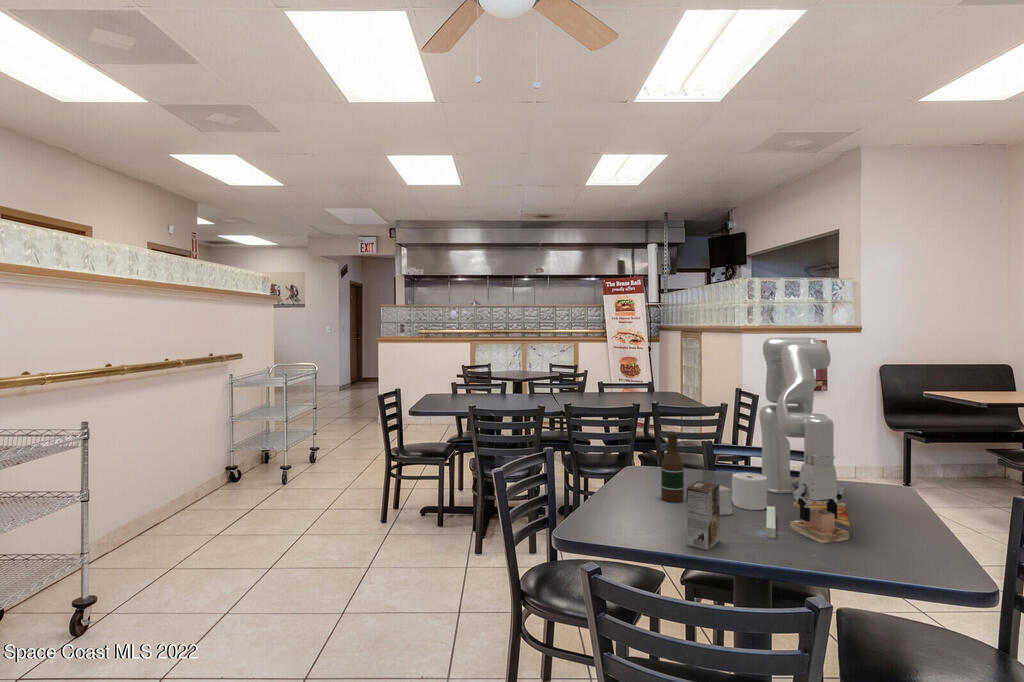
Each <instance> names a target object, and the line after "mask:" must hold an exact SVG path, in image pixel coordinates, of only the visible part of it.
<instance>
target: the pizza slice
mask: <svg viewBox="0 0 1024 682" xmlns="http://www.w3.org/2000/svg"><path fill="white" fill-rule="evenodd" d="M806 501H807V500H805V501H804V502H806ZM827 502H829V501H827V500H818V501H812V502H811V503H810V505H809V507H817V508H820V509H822V510H826V511H827ZM792 507H795V508H798V509H800V506H799V505H798V503H797V502H796V501H794V502H793V503H792ZM835 523H837V524H840V525H843V526H845V527H848V528H851V524H850V520H849V516H848V512H847V507H846V503H845V502H840V501H839V504H838V505H837V518H835Z"/></svg>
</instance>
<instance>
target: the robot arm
mask: <svg viewBox="0 0 1024 682" xmlns="http://www.w3.org/2000/svg"><path fill="white" fill-rule="evenodd" d="M762 354H763V358H764V362H765V363H766V375H765V376H766V379H765V399H766V400H767V401H768V402H770V403H771V404H769V405H765V406H763V407H761V408H760V410H759V423H760V430H761V475H763V476H766V477H767V493H772V494H792V495H793V498H794V502H797V503H798V505H799V506H800V508H799V520H805V521H807V522H810V508H808V507H809V505H810V503H811V502H812V501H827V500H828V502H827V511H829V512H831V513H833V514H835V518H837V505H838V504H839V502H840V500H841V499H842V497H843V493H844V491H845V488H844V487H842V486H840V485H838V478H837V471H836V465H835V464H834V462H835V459H836V457H835V455H834V447H835V446H834V445H835V443H834V438H835V437H834V436H835V433H834V425H835V424H834V422H833V420H832V419H831V418H829V417H828V416H827V415H825V414H824V413H813V411H814V409H813V408H814V401H815V399H814V397H815V389H816V387H817V381H816V377H815V372H814V370H815V369H816V370H824V369H827V368H829V366H830V365H831V364H830V363H831V353H830V350H829V348H828V346H827V344H825V343H824V342H822V341H821V340H819V339H818V338H815V337H792V336H791V337H787V336H786V337H784V336H783V337H778V336H777V337H770V338H767V339H766V340H764V342H763V344H762ZM788 438H794V439H795V438H796V439H799V438H800V439H801V438H803V439H804V440H803V441H804V442H803V463H802V464H801V466H800V471H799V477H792V476H791V444H790V440H789V439H788ZM794 484H798V488H795V486H793V485H794ZM804 501H806V502H804Z"/></svg>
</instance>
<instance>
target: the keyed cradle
mask: <svg viewBox="0 0 1024 682" xmlns="http://www.w3.org/2000/svg"><path fill="white" fill-rule="evenodd" d="M789 529H790V530H792V532H793V531H794V532H796V533H797V534H800V535H802V536H805V537H807V538H808V539H809V538H810V539H812V540H813V541H815V542H818V543H820V544H827V543H835V542H843V541H849V540H850V532H849V531H848V530H846V529H843V528H840V527H838V526H836V525H835V535H832V534H831V533H820V532H818V531H815V530H813V529H811V528H808V527H806V526H804V525H803V520H802V519H798V520H790V521H789Z"/></svg>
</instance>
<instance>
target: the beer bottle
mask: <svg viewBox="0 0 1024 682" xmlns="http://www.w3.org/2000/svg"><path fill="white" fill-rule="evenodd" d="M666 435H667V447H666V455H665V456H664V458H663V459H662V463H661V467H660V468H661V471H660V472H661V475H660V476H661V483H660V484H661V500H663V501H665V502H668V503H682V502H683V500H684V492H685V491H684V486H685V485H684V484H685V483H684V478H685V477H684V474H685V473H684V472H685V471H684V462H683V459H682V457H681V456H680V453H679V448H678V445H679V444H678V435H679V434H678V432H677V431H672V430H671V431H668V432H667V433H666Z"/></svg>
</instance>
